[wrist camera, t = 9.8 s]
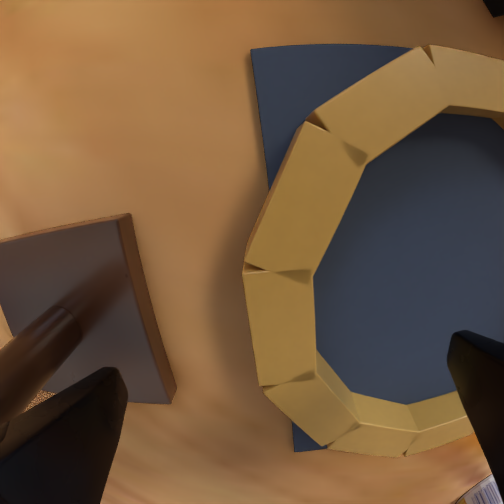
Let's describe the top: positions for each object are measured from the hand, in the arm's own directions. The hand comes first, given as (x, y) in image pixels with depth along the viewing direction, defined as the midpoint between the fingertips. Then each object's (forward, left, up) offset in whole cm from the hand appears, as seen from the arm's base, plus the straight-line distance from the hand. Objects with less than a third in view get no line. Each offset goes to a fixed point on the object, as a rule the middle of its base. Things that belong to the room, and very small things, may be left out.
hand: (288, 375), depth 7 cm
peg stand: (0, +9, -4) cm, 10 cm away
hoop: (0, -8, -4) cm, 9 cm away
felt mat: (0, -8, -4) cm, 9 cm away
